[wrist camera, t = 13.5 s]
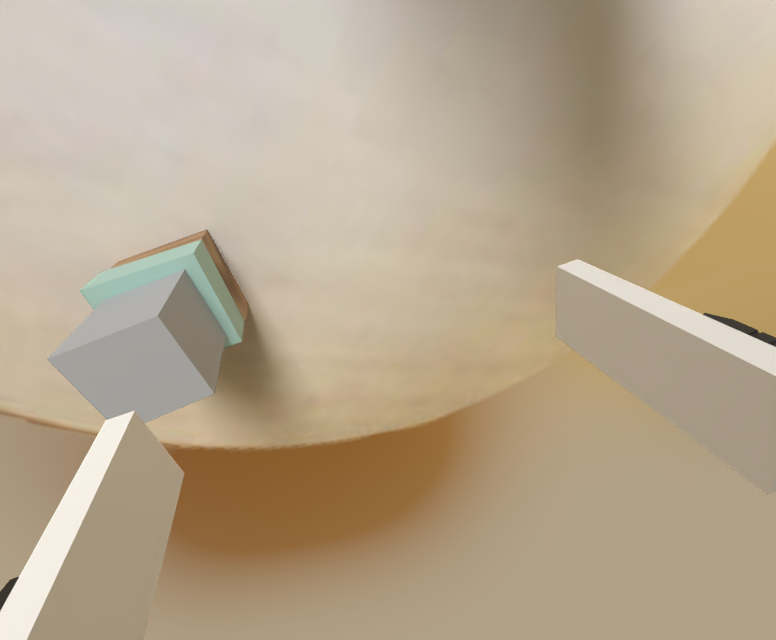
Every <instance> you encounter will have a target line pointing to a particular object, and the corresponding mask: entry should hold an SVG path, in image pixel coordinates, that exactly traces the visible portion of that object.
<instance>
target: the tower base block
mask: <svg viewBox="0 0 776 640" xmlns="http://www.w3.org/2000/svg"><path fill="white" fill-rule="evenodd" d="M198 240H202V241H203V243H204V245H205V247H206V248H207V250H208V252H209V254H210V256H211V258H212V260H213V262H214V264H215V266H216V267H217V269H218V271H219V273H220V275H221V277H222V279H223V281H224V283H225V285H226V287H227V288H228V290H229V292H230V294H231V296H232V298H233V300H234V302H235V304H236V306H237V307H238V309H239V311H240V313H241V315H242V317H243V319H244V321H246V320H247V312H248V303H247V301H246V299H245V297H244V295H243V294H242V292H241V290H240V288H239V286H238V285H237V283H236V281H235V279H234V277H233V275H232V274H231V272H230V270H229V268H228V266H227V265H226V263H225V261H224V259H223V257H222V256H221V254H220V252H219V250H218V248H217V246H216V245H215V243H214V241H213V239H212V237H211V236H210V234H209V232H208V230H205V231H202V232H199V233H197V234H194V235H191V236H188V237H185V238H183V239H180V240H177V241H174V242H171V243H169V244H166V245H163V246H160V247H158V248H155V249H152V250H149V251H146V252H144V253H141V254H138V255H135V256H132V257H130V258H127V259H124V260H121V261H119V262H117V263H116V264H115V265H114V266H113V267H112V268H115V267H118V266H121V265H124V264H127V263H130V262H133V261H136V260H140V259H143V258H146V257H149V256H152V255H155V254H158V253H161V252H164V251H167V250H171V249H174V248H177V247H180V246H183V245H186V244H189V243H192V242H195V241H198ZM112 268H110V269H112Z"/></svg>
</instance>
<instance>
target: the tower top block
mask: <svg viewBox="0 0 776 640" xmlns="http://www.w3.org/2000/svg"><path fill="white" fill-rule="evenodd" d="M184 269H185V270H186V272H187V273H188V275H189V276H190V278H191V279H192V281H193V283H194V284H195V286H196V287H197V289H198V290H199V292H200V294H201V295H202V297H203V298H204V300H205V301H206V303H207V305H208V306H209V308H210V309H211V311H212V312H213V314H214V316H215V317H216V319H217V320H218V322H219V324H220V325H221V327H222V328H223V330H224V331H225V333H226V338H225V343H224V348H226V347H229V346H232V345H234V344H237V343H240V342H242V337H243V329H244V319H243V317H242V315H241V313H240V311H239V309H238V307H237V306H236V304H235V302H234V300H233V298H232V296H231V294H230V292H229V290H228V288H227V287H226V285H225V283H224V281H223V279H222V277H221V275H220V273H219V271H218V269H217V267H216V266H215V264H214V262H213V260H212V258H211V256H210V254H209V252H208V250H207V248H206V247H205V245H204V243H203V241H202V240H198V241H195V242H192V243H189V244H186V245H183V246H180V247H177V248H174V249H171V250H167V251H164V252H161V253H158V254H155V255H152V256H149V257H146V258H143V259H140V260H136V261H133V262H130V263H127V264H124V265H121V266H118V267H115V268H112V269H109V270H105V271H102V272H101V273H99V274H98V275H97V276H96V277H95V278H93V279H92V280H91V281H90V282H89V283H87V284H86V285H85V286H84V287H83V288H81V289H80V290H79V291H80V292H81V293H82V295H83V296H84V297H85V299H86V300H87V301H88V303H89V304H90V305H91V307H92V308H93V309H95V308H96V307H97V306H98V305H99V304H100V303H101V302H102V301H103V300H105V299H108V298H111V297H113V296H116V295H118V294H121V293H124V292H126V291H129V290H131V289H134V288H137V287H139V286H142V285H145V284H147V283H150V282H152V281H155V280H158V279H160V278H163V277H166V276H168V275H171V274H173V273H176V272H179V271H181V270H184Z"/></svg>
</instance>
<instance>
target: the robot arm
mask: <svg viewBox="0 0 776 640" xmlns="http://www.w3.org/2000/svg"><path fill="white" fill-rule="evenodd" d="M556 337H557V338H558V339H560V340H561V341H562V342H564V343H565V344H566V345H568V346H569V347H570V348H572V349H573V350H574V351H576V352H577V353H579V354H580V355H581V356H582V357H584V358H585V359H586V360H588V361H589V362H590V363H592V364H593V365H594V366H596V367H597V368H598V369H600V370H601V371H602V372H604V373H605V374H606V375H608V376H609V377H610V378H612V379H613V380H614V381H616V382H617V383H618V384H620V385H621V386H622V387H624V388H625V389H626V390H628V391H629V392H630V393H632V394H633V395H634V396H636V397H637V398H638V399H640V400H641V401H642V402H644V403H645V404H647V405H648V406H649V407H651V408H652V409H653V410H654V411H656V412H657V413H658V414H660V415H661V416H662V417H664V418H665V419H666V420H668V421H669V422H670V423H672V424H673V425H674V426H676V427H677V428H678V429H680V430H681V431H682V432H684V433H685V434H686V435H688V436H689V437H690V438H692V439H693V440H694V441H696V442H697V443H698V444H700V445H701V446H702V447H704V448H705V449H706V450H708V451H709V452H710V453H712V454H713V455H714V456H716V457H717V458H718V459H720V460H721V461H722V462H724V463H725V464H726V465H728V466H729V467H730V468H732V469H733V470H734V471H736V472H737V473H738V474H740V475H741V476H742V477H744V478H745V479H746V480H748V481H749V482H750V483H752V484H753V485H754V486H756V487H757V488H758V489H760V490H761V491H762V492H764V493H765V494H766V495H768V494H770V493H772V492H774V491H776V338H775V337H773V336H770V335H768V334H766V333H763V332H762V333H759V332H758V330H756V329H754V328H752V327H749V326H747V325H745V324H742V323H740V322H738V321H735V320H733V319H728V318H724V317H719V316H715V315H711V314H707V313H704V314H700V313H698V312H695V311H693V310H691V309H689V308H686V307H684V306H682V305H680V304H678V303H675V302H673V301H671V300H669V299H666V298H664V297H662V296H660V295H657V294H655V293H653V292H651V291H648V290H646V289H644V288H642V287H639V286H637V285H635V284H633V283H630V282H628V281H626V280H624V279H621V278H619V277H617V276H615V275H612V274H610V273H608V272H606V271H603V270H601V269H599V268H597V267H594V266H592V265H590V264H588V263H585V262H583V261H581V260H579V259H577V260H574V261H571V262H568V263H565V264H562V265H559V266H557V290H556ZM183 477H184V472H183V471H182V470H181V469H180V467H179V466H178V465H177V463H176V462H175V461H174V460H173V458H172V457H171V456H170V455H169V453H168V452H167V451H166V450H165V448H164V447H163V446H162V444H161V443H160V442H159V441H158V439H157V438H156V437H155V436H154V434H153V433H152V432H151V431H150V429H149V428H148V427H147V425H146V424H145V423H144V422H143V420H142V419H141V418H140V417H139V415H138V414H137V413H136V412H135V411H132V412H129V413H126V414H123V415H120V416H117V417H114V418H111V419H108V420H106V421H105V423H104V424H103V426H102V428H101V430H100V432H99V434H98V435H97V437H96V439H95V441H94V443H93V445H92V446H91V448H90V450H89V452H88V453H87V455H86V457H85V459H84V461H83V462H82V464H81V466H80V468H79V470H78V472H77V473H76V475H75V477H74V479H73V481H72V482H71V484H70V486H69V488H68V490H67V491H66V493H65V495H64V497H63V499H62V500H61V502H60V504H59V506H58V508H57V510H56V511H55V513H54V515H53V517H52V519H51V521H50V522H49V524H48V526H47V528H46V530H45V531H44V533H43V535H42V537H41V539H40V540H39V542H38V544H37V546H36V548H35V549H34V551H33V553H32V555H31V557H30V558H29V560H28V562H27V564H26V566H25V568H24V569H23V571H22V573H21V575H20V576H19V577H16V578H14V579H11V580H10V581H9V582H8V583H7V584H6V586H5V587H4V588H3V589H2V590H1V591H0V640H143V639H144V635H145V631H146V627H147V623H148V619H149V615H150V611H151V607H152V603H153V599H154V594H155V590H156V586H157V582H158V578H159V574H160V570H161V566H162V562H163V558H164V554H165V550H166V546H167V542H168V538H169V534H170V529H171V525H172V521H173V517H174V513H175V509H176V505H177V501H178V497H179V493H180V488H181V484H182V481H183Z"/></svg>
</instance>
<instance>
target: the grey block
mask: <svg viewBox="0 0 776 640" xmlns="http://www.w3.org/2000/svg"><path fill="white" fill-rule="evenodd" d="M225 338H226V333H225V331H224V330H223V328H222V327H221V325H220V324H219V322H218V320H217V319H216V317H215V316H214V314H213V312H212V311H211V309H210V308H209V306H208V305H207V303H206V301H205V300H204V298H203V297H202V295H201V294H200V292H199V290H198V289H197V287H196V286H195V284H194V283H193V281H192V279H191V278H190V276H189V275H188V273H187V272H186V270H185V269H184V270H181V271H179V272H176V273H173V274H171V275H168V276H166V277H163V278H160V279H158V280H155V281H152V282H150V283H147V284H145V285H142V286H139V287H137V288H134V289H131V290H129V291H126V292H124V293H121V294H118V295H116V296H113V297H111V298H108V299H105V300H103V301H102V302H101V303H100V304H99V305H98V306H97V307H96V308H95V309H94V311H93V312H92V313H91V314H90V315H89V316H88V317H87V318H86V319H85V320H84V321H83V322H82V323H81V324H80V325H79V326H78V327H77V328H76V329H75V330H74V331H73V332H72V334H71V335H70V336H69V337H68V338H67V339H66V340H65V341H64V342H63V343H62V344H61V345H60V346H59V347H58V348H57V349H56V350H55V351H54V352H53V353H52V354H51V355H50V356H49V358H48V359H47V360H48V361H49V362H50V363H51V364H52V365H53V366H54V367H55V368H56V369H57V370H58V371H59V372H60V373H61V374H62V375H63V376H64V377H65V378H66V379H67V380H68V381H69V382H70V383H71V384H72V385H73V386H74V387H75V388H76V389H77V390H78V391H79V392H80V393H81V394H82V395H83V396H84V397H85V398H86V399H87V400H88V401H89V402H90V403H91V404H92V405H93V406H94V407H95V408H96V409H97V410H98V411H99V412H100V413H101V414H102V415H103V416H104V417H105V418H106V419H107V420H108V419H111V418H114V417H117V416H120V415H123V414H126V413H129V412H132V411H135V412H136V413H137V414H138V415H139V417H140V418H141V419H142V420H143V422H144V423H146V422H148V421H151V420H153V419H156V418H158V417H160V416H163V415H165V414H168V413H170V412H172V411H175V410H177V409H179V408H182V407H184V406H187V405H189V404H191V403H194V402H196V401H198V400H201V399H203V398H206V397H208V396H210V395H213V394H215V389H216V384H217V379H218V374H219V369H220V364H221V359H222V353H223V348H224V343H225Z"/></svg>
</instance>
